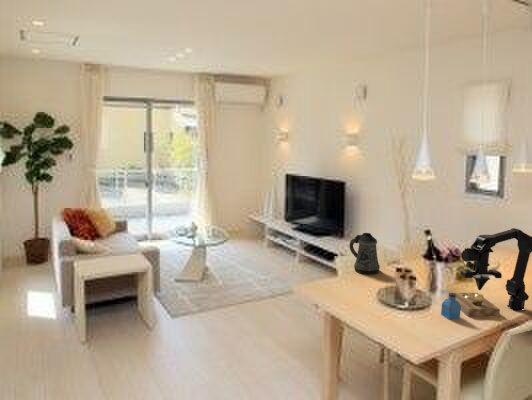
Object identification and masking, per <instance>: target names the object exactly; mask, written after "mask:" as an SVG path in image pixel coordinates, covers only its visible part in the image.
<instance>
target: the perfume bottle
mask: <svg viewBox="0 0 532 400" xmlns="http://www.w3.org/2000/svg"><path fill="white" fill-rule="evenodd" d="M455 293H456V292H448V296H447V297H448V298H449V299H448V298H445V299H444V300H443V301H442V303H441V311H440V315H441V316H442V317H444V318H445V319H447V320H459V319H461V312H462V311H461V306H460V304H459V302H458V301H456V300H455V299H456V296H455V295H456V294H455Z"/></svg>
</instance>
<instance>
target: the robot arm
mask: <svg viewBox="0 0 532 400" xmlns="http://www.w3.org/2000/svg"><path fill="white" fill-rule="evenodd" d="M513 239H515V240H517V248H518V255H517V258H516V262H515V266H514V271H513V275H512V277H511V278H510V279H507V280H506V284H505V290H506V292H507V295H509V299H508V304H507V307H508V308H509V307H510V309H511V310H512V309H513V310H512V311H514V310H522V309H525V304H526V303H525V302H526V301H528V300H529V298H530V296H529V295H528V293H527V292H526V284H525V280H524V279H525V276H526V271H527V268H528V267H527V266H528V263H529V259H530V255H531V253H532V235H529V234H527V233H525V232H523V230H521V229H518V228H516V227H514V228H513V227H512V228H511V229H508V230H503V231H501V232H497V233H493V234H479V235H477V237H476V238H475V240H474V241H473V242H472V244H471V245H470V247H464V250H462V251H461V253H460V254H461V256H460V257H461V259H462V261H463V262H466V264H465V267H466V268H467V269H461V270H460V274H459V275H461V276H462V277H463V278H466V279H474V281H475V284H476V287H477V290H478V291H482V289H483V287H484V286H485V285H486V284H487V282H488V281H489V280H490V281H491V276H492V277H493V276H494V278H495V279H502V276H503V274H502V272H500V271H499V270H497V269H489V267H490V265H491V264H490V263H489V261H490V253H494V250H493V249H492V248H494V247H495V246H496V245H498V243H503V242H506V241H510V240H513ZM488 269H489V270H488Z"/></svg>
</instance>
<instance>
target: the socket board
mask: <svg viewBox="0 0 532 400" xmlns="http://www.w3.org/2000/svg"><path fill="white" fill-rule="evenodd" d="M454 293H455V294H456V295H455V296H456V299H455V300H456V301H458V302H459V304H460V306H461V311H460V312H462V313H463V314H464V315H465V316H467V317H471V318H472V317H473V318H474V317H479V318H480V317H483V318H484V317H486V318H487V317H488V316H499V317H500V312H501V308H499V307H498V306H497V305H495V304H493V302H491V301H490V300H489V299H487V298H486V297H484V296H483V303H482V304H478V303H475V302H474V297H475V294H479V293H478V292H454ZM465 295H470V296H472V297H473V299H466V298H465V297H464V296H465ZM447 299H449V298H447ZM488 318H489V317H488Z"/></svg>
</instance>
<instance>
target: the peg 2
mask: <svg viewBox="0 0 532 400" xmlns="http://www.w3.org/2000/svg"><path fill="white" fill-rule="evenodd" d="M483 297H484V295H483V294H481V293H478V294H475V297H474V302H475V303H478V304H482V303H483Z"/></svg>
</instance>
